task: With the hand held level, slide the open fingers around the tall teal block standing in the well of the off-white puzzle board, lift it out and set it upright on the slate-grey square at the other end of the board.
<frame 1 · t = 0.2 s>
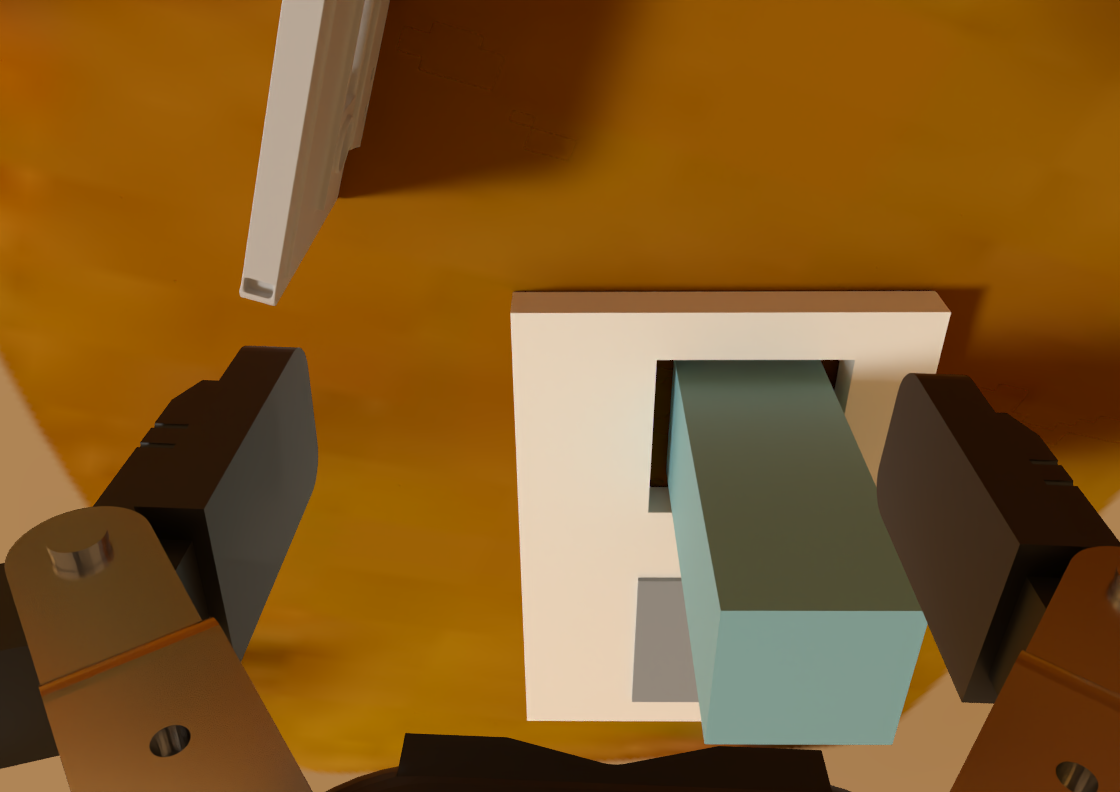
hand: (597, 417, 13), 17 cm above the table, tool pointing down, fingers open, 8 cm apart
cassette: (361, 1, 26), on the table
puzzle board: (701, 522, 36), on the table
teal block: (739, 415, 34), resting in puzzle board
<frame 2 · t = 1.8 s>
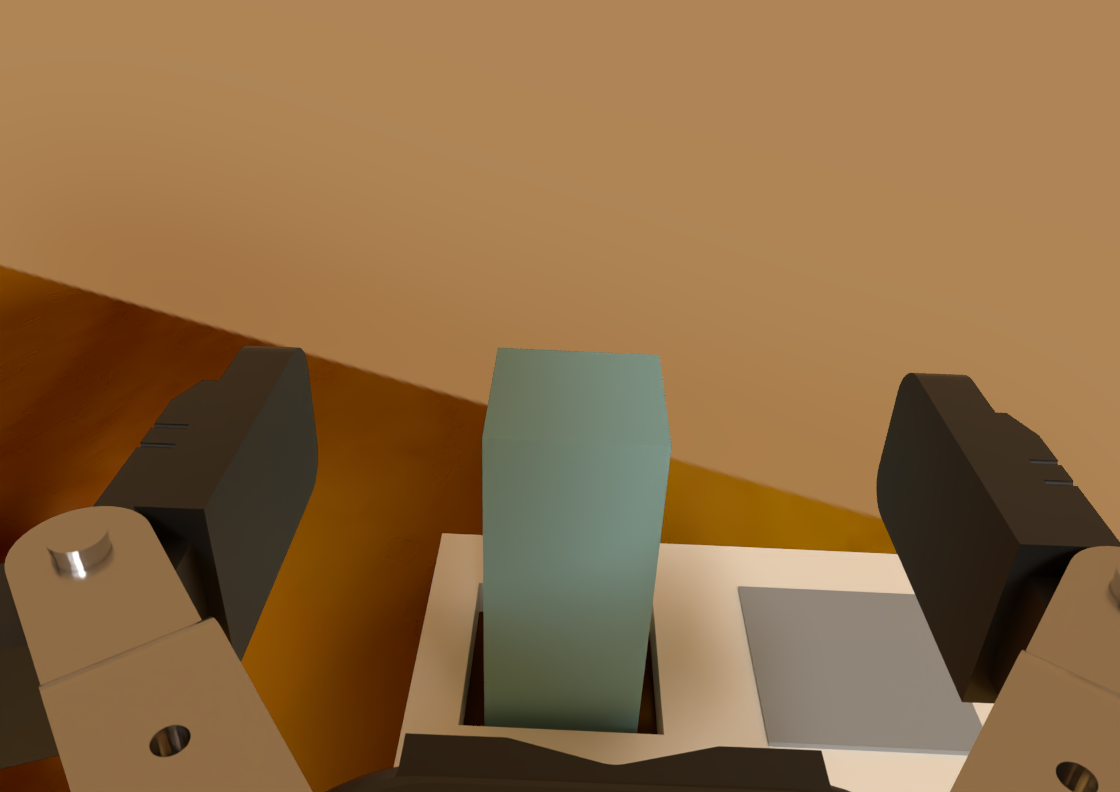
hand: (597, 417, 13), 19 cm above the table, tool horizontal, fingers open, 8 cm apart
puzzle board: (706, 711, 32), on the table
teal block: (561, 682, 33), resting in puzzle board
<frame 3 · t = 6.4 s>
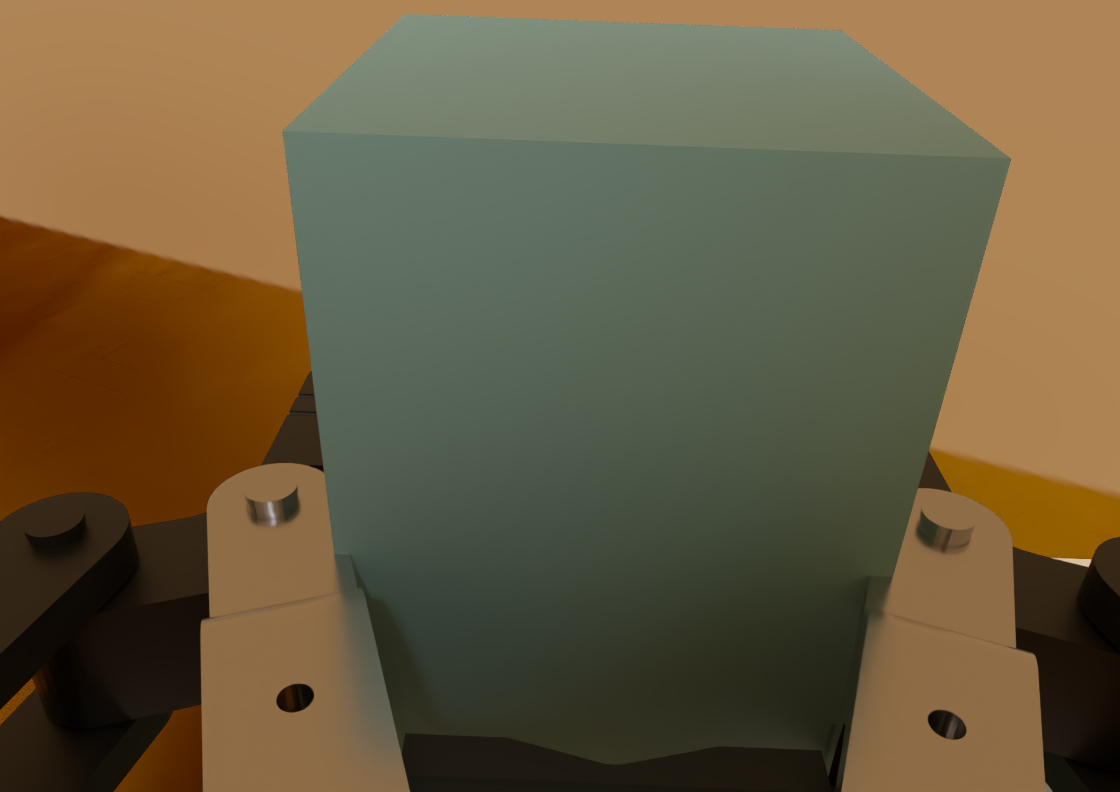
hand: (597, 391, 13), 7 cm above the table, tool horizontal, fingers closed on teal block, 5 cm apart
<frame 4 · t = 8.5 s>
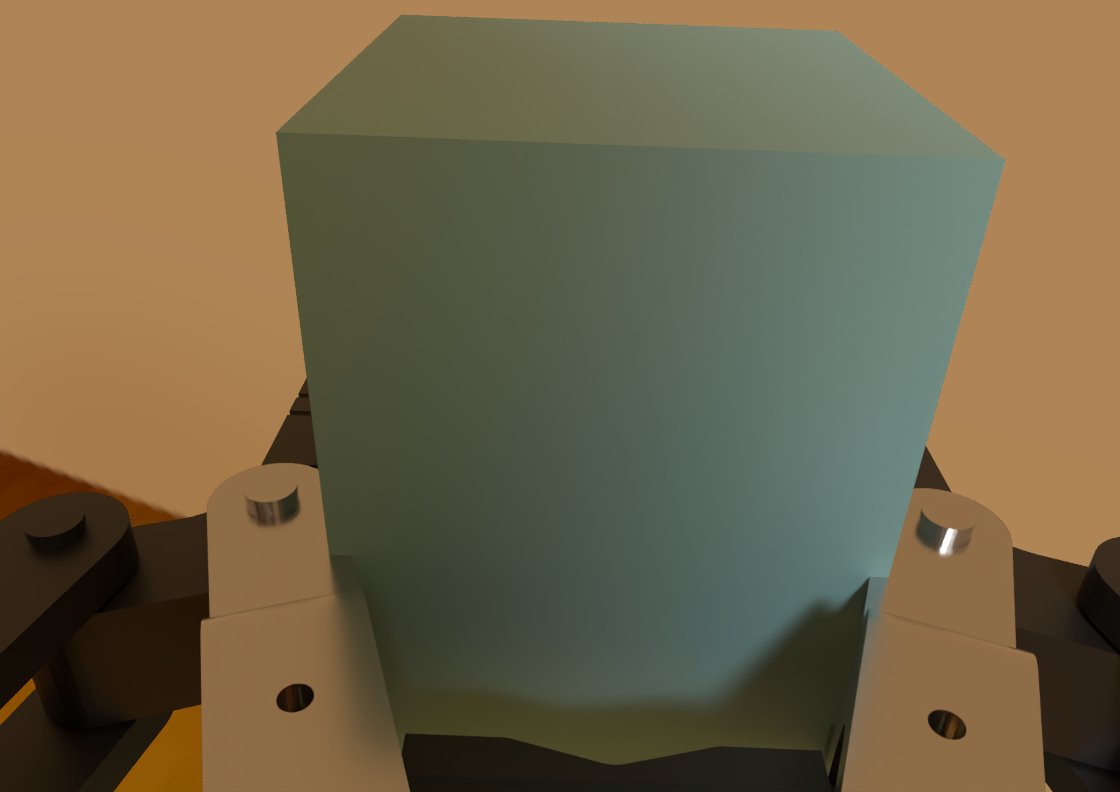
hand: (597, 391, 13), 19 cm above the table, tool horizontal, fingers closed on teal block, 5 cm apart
when the fingers open (10 cm above the table, at t = 11.1 s): teal block drops 1 cm, resting on puzzle board.
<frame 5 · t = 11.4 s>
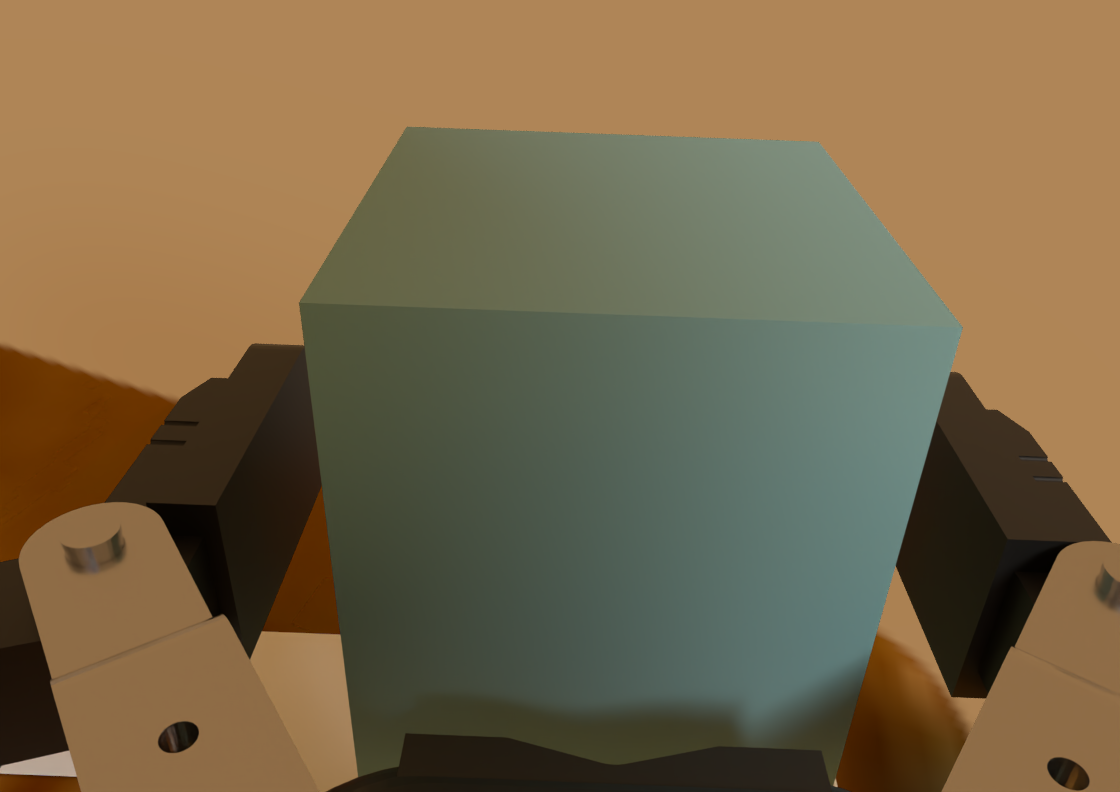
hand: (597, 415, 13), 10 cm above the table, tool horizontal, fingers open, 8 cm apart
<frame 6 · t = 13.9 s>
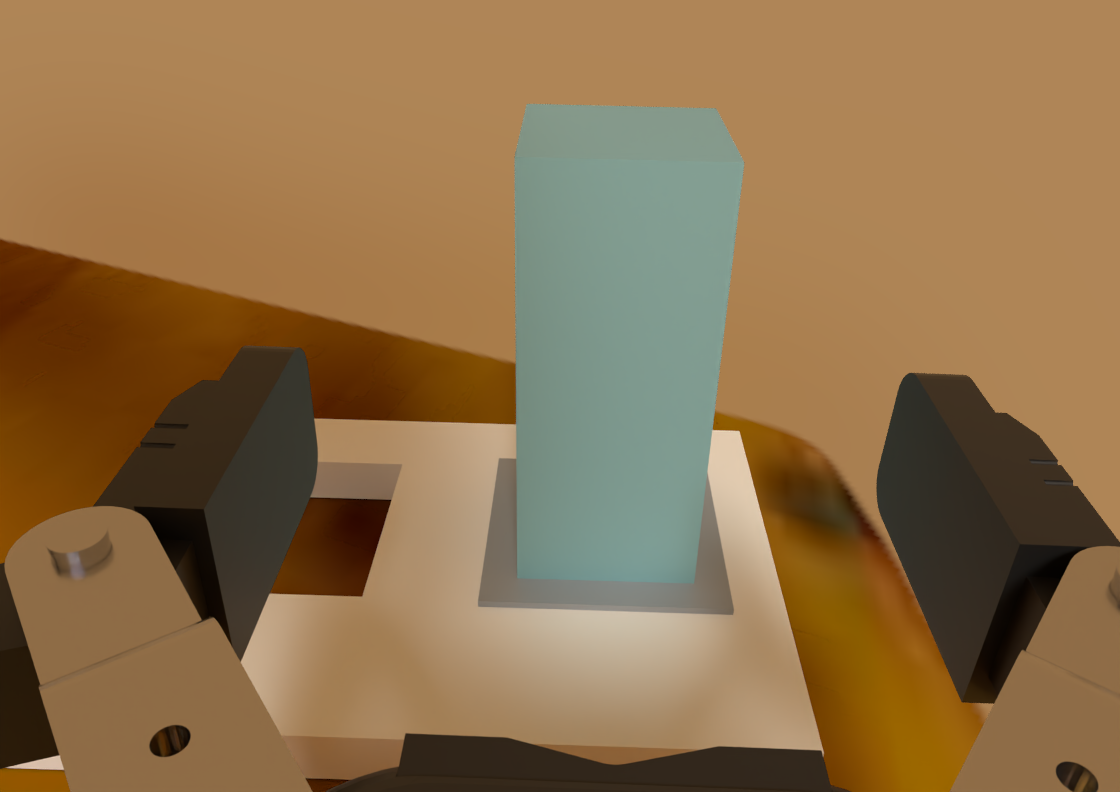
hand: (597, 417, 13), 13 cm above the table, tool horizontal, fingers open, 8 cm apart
puzzle board: (438, 584, 29), on the table
teal block: (603, 525, 28), point 2 cm above the table, touching puzzle board
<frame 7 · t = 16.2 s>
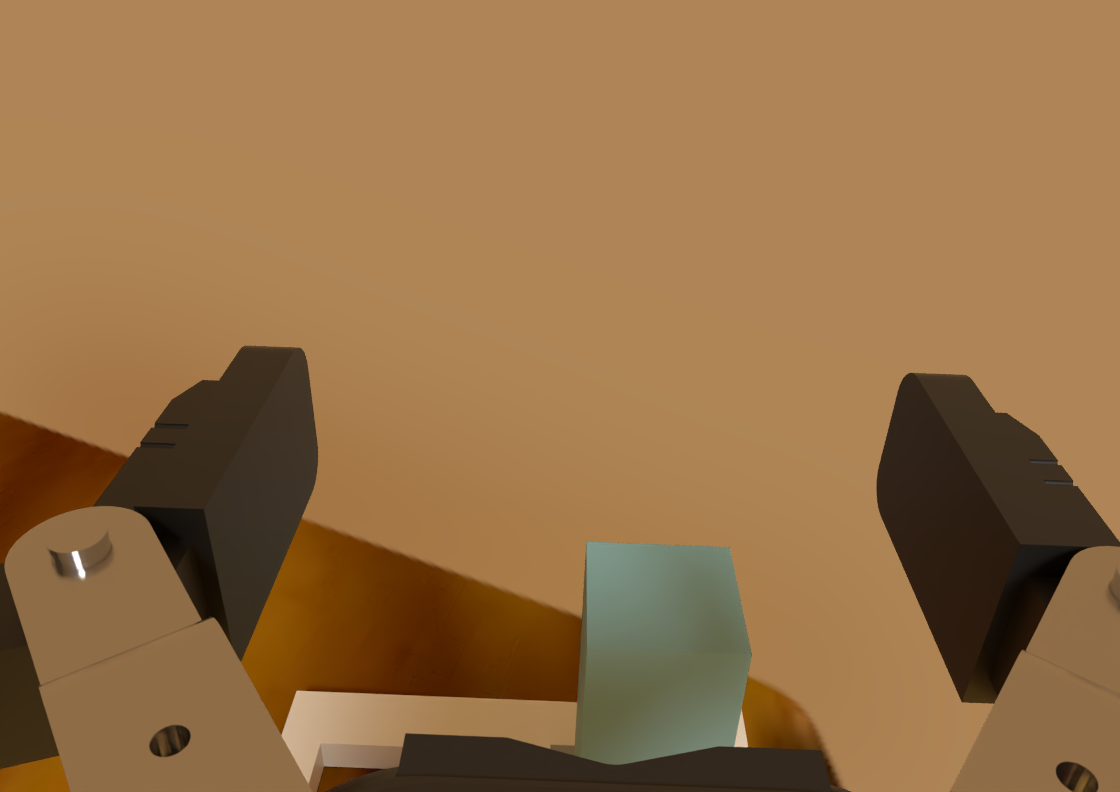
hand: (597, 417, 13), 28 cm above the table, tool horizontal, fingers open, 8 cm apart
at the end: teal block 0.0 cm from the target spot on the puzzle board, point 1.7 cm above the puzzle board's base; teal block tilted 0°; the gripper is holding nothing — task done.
